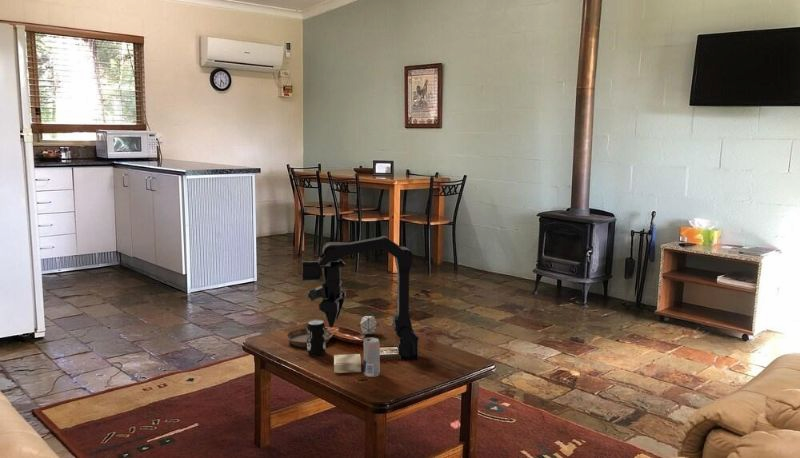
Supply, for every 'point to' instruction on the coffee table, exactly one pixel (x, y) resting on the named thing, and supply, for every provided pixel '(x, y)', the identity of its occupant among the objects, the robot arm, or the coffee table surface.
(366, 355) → the energy drink
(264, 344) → the coffee table surface
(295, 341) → the plant saucer
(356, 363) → the plinth
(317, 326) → the beverage can
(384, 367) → the coffee table surface
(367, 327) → the game die
